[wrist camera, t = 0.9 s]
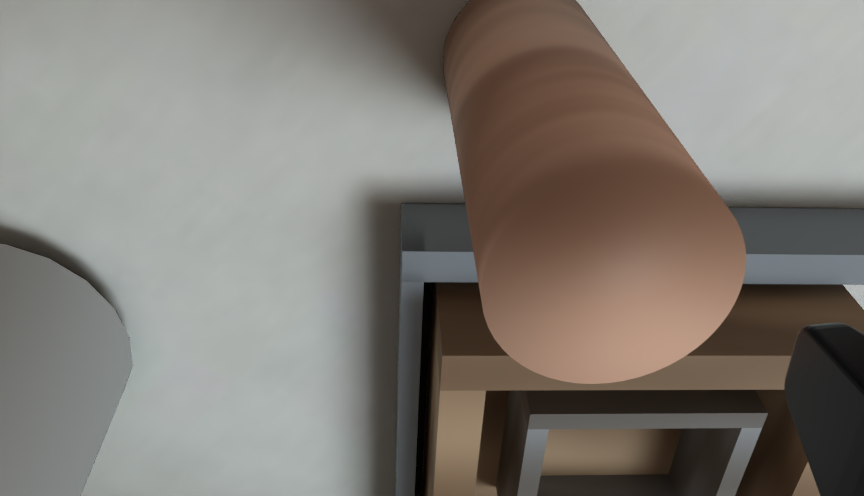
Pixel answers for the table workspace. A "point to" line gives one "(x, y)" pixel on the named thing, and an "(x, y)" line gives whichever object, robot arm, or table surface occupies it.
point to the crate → (623, 409)
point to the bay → (454, 262)
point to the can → (54, 375)
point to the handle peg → (581, 200)
